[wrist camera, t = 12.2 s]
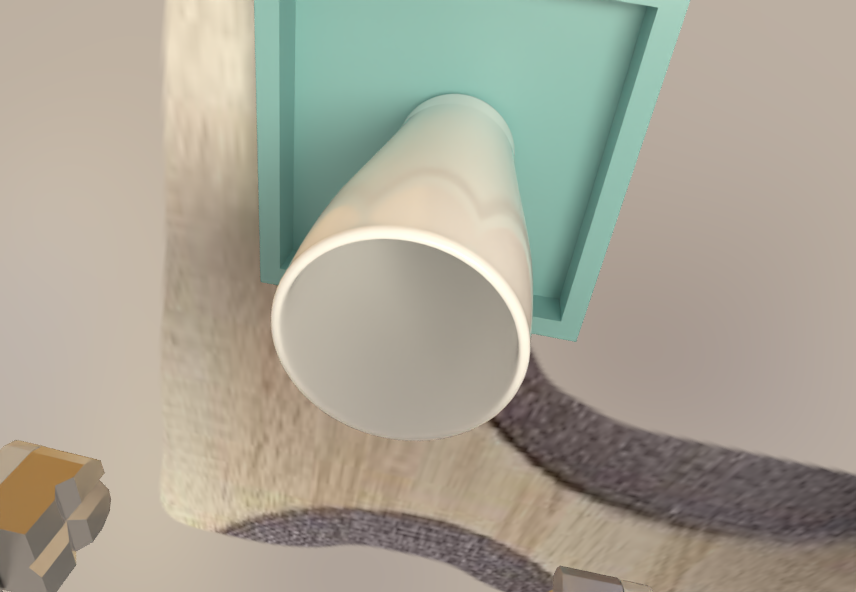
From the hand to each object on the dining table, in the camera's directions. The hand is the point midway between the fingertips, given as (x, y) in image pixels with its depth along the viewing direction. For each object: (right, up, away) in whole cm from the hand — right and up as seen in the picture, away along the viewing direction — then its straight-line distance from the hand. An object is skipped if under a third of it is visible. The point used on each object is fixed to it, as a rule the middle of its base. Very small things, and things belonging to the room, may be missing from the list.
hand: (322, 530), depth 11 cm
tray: (+3, +11, +18) cm, 21 cm away
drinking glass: (+3, +11, +17) cm, 21 cm away
